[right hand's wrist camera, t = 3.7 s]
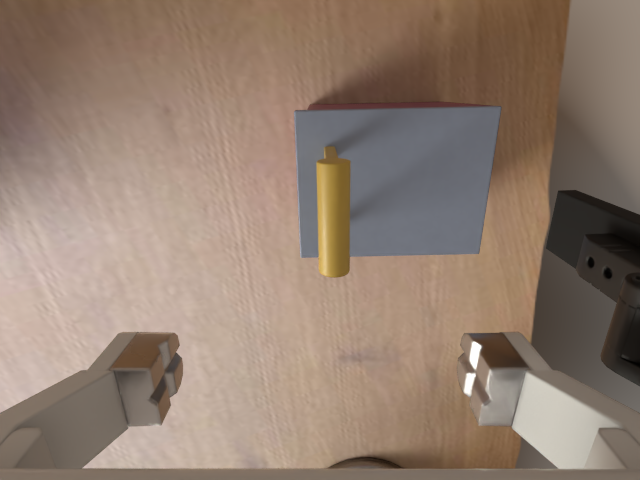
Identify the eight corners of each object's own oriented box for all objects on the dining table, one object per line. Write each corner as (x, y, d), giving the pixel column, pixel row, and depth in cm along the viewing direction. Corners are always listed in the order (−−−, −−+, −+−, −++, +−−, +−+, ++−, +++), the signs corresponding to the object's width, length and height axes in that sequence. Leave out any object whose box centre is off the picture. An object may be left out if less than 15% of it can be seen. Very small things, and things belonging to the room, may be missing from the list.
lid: (300, 253, 27) (294, 312, 20) (294, 110, 23) (284, 118, 16) (474, 249, 27) (532, 307, 20) (495, 105, 23) (576, 111, 16)
